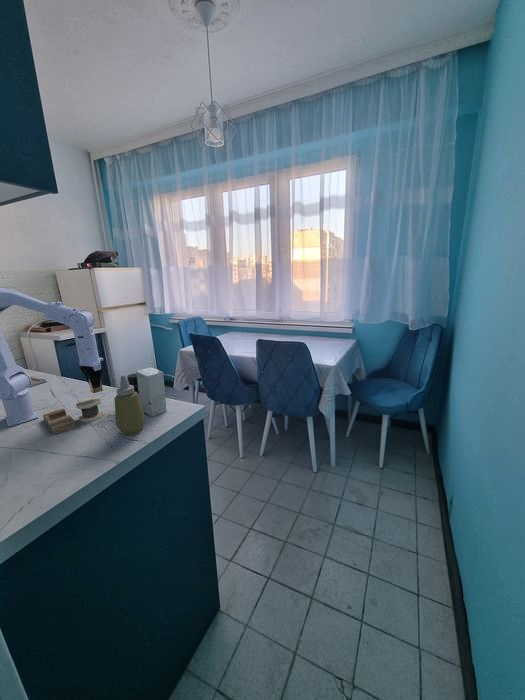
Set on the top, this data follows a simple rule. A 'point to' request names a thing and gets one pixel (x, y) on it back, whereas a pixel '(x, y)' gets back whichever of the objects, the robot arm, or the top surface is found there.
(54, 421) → the notched board
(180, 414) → the top surface
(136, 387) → the supplement bottle
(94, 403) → the spool
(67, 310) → the robot arm
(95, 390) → the brown wooden block
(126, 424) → the squeeze bottle
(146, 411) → the skincare box
